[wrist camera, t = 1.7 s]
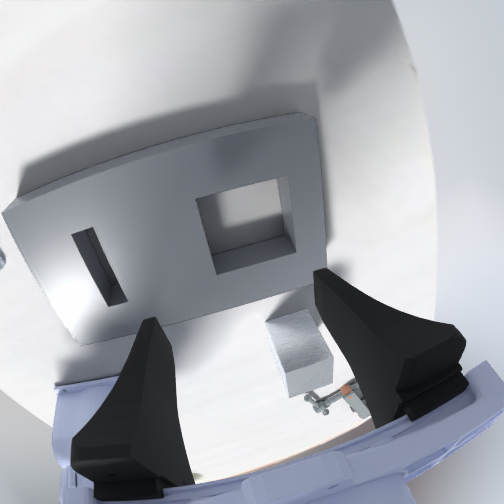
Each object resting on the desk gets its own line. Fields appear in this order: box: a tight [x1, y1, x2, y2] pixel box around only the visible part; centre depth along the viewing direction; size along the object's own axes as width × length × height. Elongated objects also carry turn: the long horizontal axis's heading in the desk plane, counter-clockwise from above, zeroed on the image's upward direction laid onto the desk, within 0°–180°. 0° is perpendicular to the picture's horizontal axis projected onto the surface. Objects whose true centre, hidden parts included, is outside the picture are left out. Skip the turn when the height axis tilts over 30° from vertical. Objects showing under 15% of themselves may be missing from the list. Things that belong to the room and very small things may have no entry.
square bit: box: [265, 309, 334, 398], centre depth 27 cm, size 4×4×6 cm
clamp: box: [304, 382, 371, 419], centre depth 40 cm, size 15×2×10 cm
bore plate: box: [1, 112, 327, 346], centre depth 21 cm, size 20×12×2 cm, turn 100°
